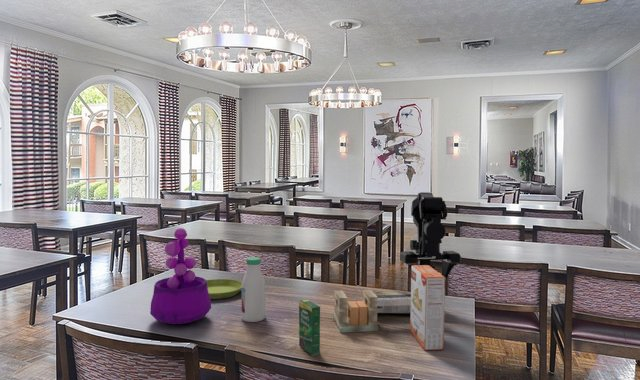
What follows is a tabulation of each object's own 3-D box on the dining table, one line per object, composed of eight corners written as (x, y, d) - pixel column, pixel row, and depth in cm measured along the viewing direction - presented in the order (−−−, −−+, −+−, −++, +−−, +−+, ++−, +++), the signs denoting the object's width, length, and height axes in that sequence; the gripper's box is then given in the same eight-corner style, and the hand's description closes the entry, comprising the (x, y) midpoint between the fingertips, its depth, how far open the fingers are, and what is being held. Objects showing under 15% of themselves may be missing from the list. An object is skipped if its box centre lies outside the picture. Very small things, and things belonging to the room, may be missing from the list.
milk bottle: (269, 316, 150) (269, 257, 149) (258, 324, 143) (259, 261, 141) (248, 313, 153) (248, 255, 151) (237, 321, 145) (237, 259, 144)
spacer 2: (363, 318, 147) (363, 300, 147) (367, 324, 141) (367, 306, 141) (355, 318, 147) (356, 301, 146) (359, 325, 141) (359, 306, 141)
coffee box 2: (297, 345, 127) (298, 299, 126) (306, 343, 129) (307, 298, 128) (310, 356, 120) (311, 308, 119) (320, 354, 121) (321, 306, 121)
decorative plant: (187, 335, 133) (186, 234, 131) (137, 326, 140) (135, 230, 137) (222, 314, 151) (222, 225, 149) (176, 307, 157) (175, 222, 155)
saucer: (254, 291, 178) (254, 283, 178) (216, 305, 161) (216, 296, 161) (216, 283, 189) (216, 275, 189) (177, 295, 172) (177, 287, 172)
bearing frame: (368, 317, 150) (369, 287, 150) (378, 330, 139) (379, 298, 138) (333, 318, 149) (333, 288, 148) (340, 332, 137) (340, 300, 136)
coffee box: (364, 290, 160) (409, 291, 160) (364, 309, 159) (410, 309, 160) (368, 294, 150) (416, 294, 151) (368, 313, 150) (416, 314, 150)
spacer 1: (354, 318, 146) (354, 301, 146) (358, 325, 141) (358, 307, 140) (347, 319, 146) (347, 301, 146) (350, 325, 140) (350, 307, 140)
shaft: (430, 310, 149) (431, 279, 148) (434, 313, 146) (435, 281, 145) (370, 313, 146) (371, 281, 145) (373, 316, 143) (373, 283, 142)
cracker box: (408, 331, 138) (410, 264, 137) (427, 331, 139) (429, 264, 137) (422, 351, 124) (425, 276, 123) (444, 350, 125) (446, 276, 123)
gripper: (447, 231, 155) (446, 276, 156) (395, 231, 152) (394, 277, 153) (462, 236, 144) (460, 285, 145) (406, 237, 141) (405, 286, 142)
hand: (429, 283), depth 146 cm, fingers open, 9 cm apart
